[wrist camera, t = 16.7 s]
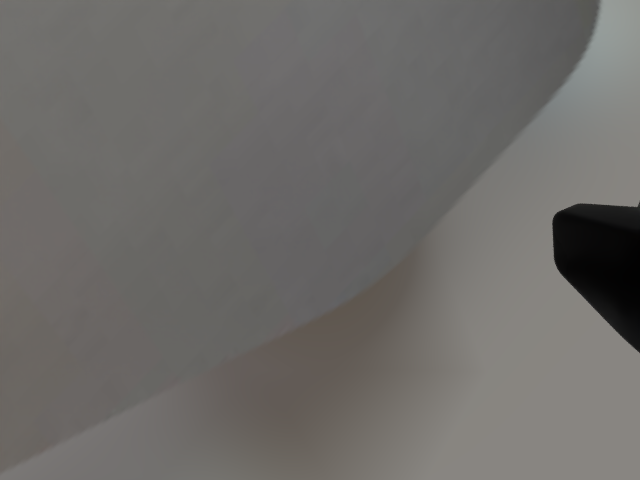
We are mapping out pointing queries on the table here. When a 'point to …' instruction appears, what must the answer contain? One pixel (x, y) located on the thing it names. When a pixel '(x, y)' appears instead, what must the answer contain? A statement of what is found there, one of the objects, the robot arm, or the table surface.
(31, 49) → the table surface
